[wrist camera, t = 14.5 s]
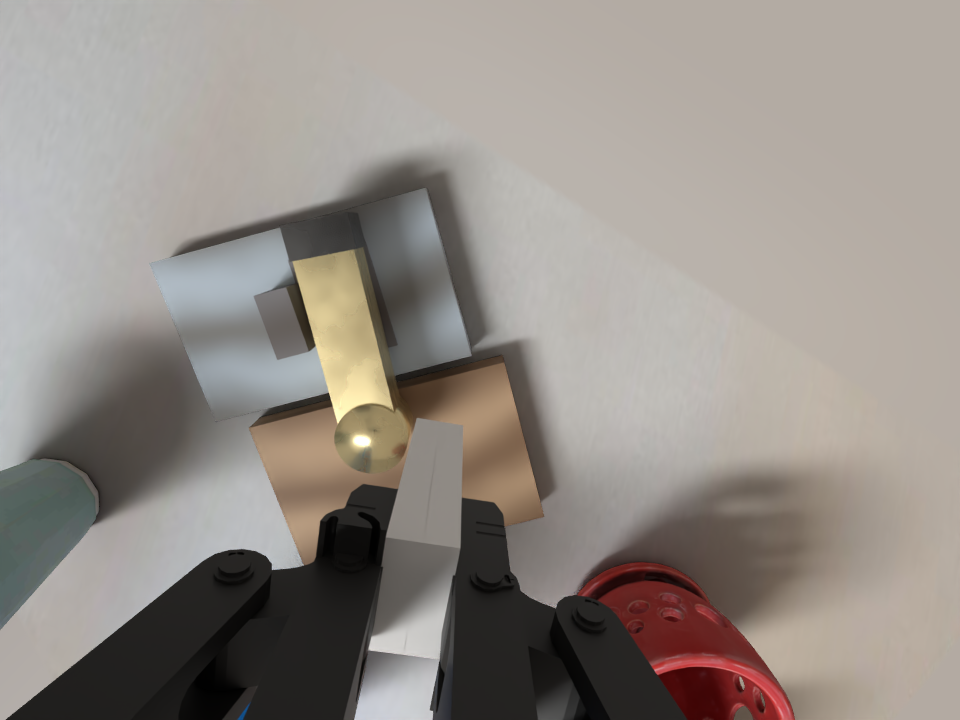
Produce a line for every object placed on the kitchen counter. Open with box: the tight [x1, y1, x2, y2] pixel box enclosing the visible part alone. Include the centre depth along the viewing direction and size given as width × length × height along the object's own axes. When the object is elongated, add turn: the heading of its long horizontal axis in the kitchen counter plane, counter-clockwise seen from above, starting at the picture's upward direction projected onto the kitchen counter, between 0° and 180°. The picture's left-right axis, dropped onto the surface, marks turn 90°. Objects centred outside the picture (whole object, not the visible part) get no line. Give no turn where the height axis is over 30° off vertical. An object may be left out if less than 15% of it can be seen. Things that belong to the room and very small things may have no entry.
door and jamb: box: [149, 188, 544, 565], centre depth 35 cm, size 24×20×5 cm
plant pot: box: [577, 562, 795, 720], centre depth 37 cm, size 13×13×12 cm
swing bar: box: [280, 212, 413, 474], centre depth 32 cm, size 15×4×3 cm, turn 11°
